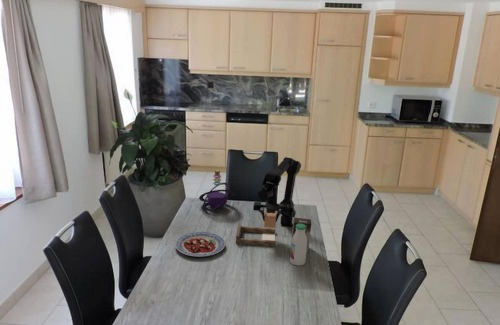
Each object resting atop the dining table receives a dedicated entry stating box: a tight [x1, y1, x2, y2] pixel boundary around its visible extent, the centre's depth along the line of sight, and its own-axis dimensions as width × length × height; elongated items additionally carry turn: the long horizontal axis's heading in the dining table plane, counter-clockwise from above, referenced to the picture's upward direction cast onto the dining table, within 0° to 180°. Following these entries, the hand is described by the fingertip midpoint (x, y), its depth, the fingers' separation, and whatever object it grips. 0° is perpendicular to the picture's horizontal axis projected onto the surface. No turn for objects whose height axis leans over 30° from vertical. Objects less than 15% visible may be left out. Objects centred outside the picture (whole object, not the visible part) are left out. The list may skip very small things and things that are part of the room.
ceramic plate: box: [174, 231, 226, 258], centre depth 199 cm, size 26×26×3 cm
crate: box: [263, 210, 277, 229], centre depth 208 cm, size 6×8×6 cm
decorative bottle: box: [198, 169, 235, 212], centre depth 245 cm, size 22×21×25 cm
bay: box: [235, 222, 276, 247], centre depth 211 cm, size 21×16×4 cm
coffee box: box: [290, 216, 312, 253], centre depth 200 cm, size 9×6×16 cm
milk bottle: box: [289, 223, 307, 267], centre depth 186 cm, size 8×8×20 cm
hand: (269, 221), depth 208 cm, fingers closed on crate, 6 cm apart
